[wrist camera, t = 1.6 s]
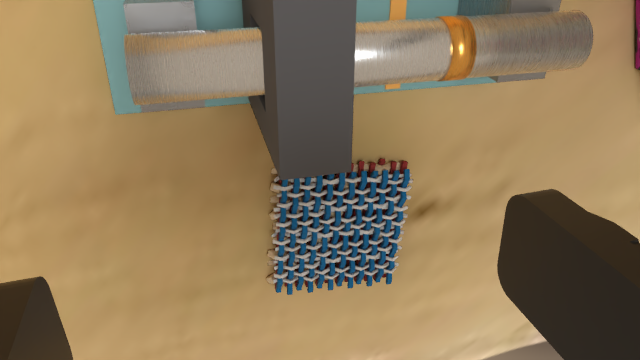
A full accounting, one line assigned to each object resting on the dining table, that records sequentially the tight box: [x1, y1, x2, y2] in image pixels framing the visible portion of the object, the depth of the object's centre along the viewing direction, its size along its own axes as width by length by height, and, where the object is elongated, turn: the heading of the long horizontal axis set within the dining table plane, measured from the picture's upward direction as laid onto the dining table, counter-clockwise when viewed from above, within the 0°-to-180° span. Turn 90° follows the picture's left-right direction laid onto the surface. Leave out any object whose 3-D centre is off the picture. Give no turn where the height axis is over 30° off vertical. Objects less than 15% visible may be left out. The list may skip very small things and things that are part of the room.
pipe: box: [123, 0, 593, 112], centre depth 27 cm, size 22×5×9 cm, turn 90°
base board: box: [93, 0, 496, 115], centre depth 31 cm, size 26×9×1 cm, turn 90°
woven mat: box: [266, 159, 413, 295], centre depth 39 cm, size 10×11×2 cm
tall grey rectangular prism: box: [242, 0, 357, 180], centre depth 24 cm, size 3×7×10 cm, turn 0°
